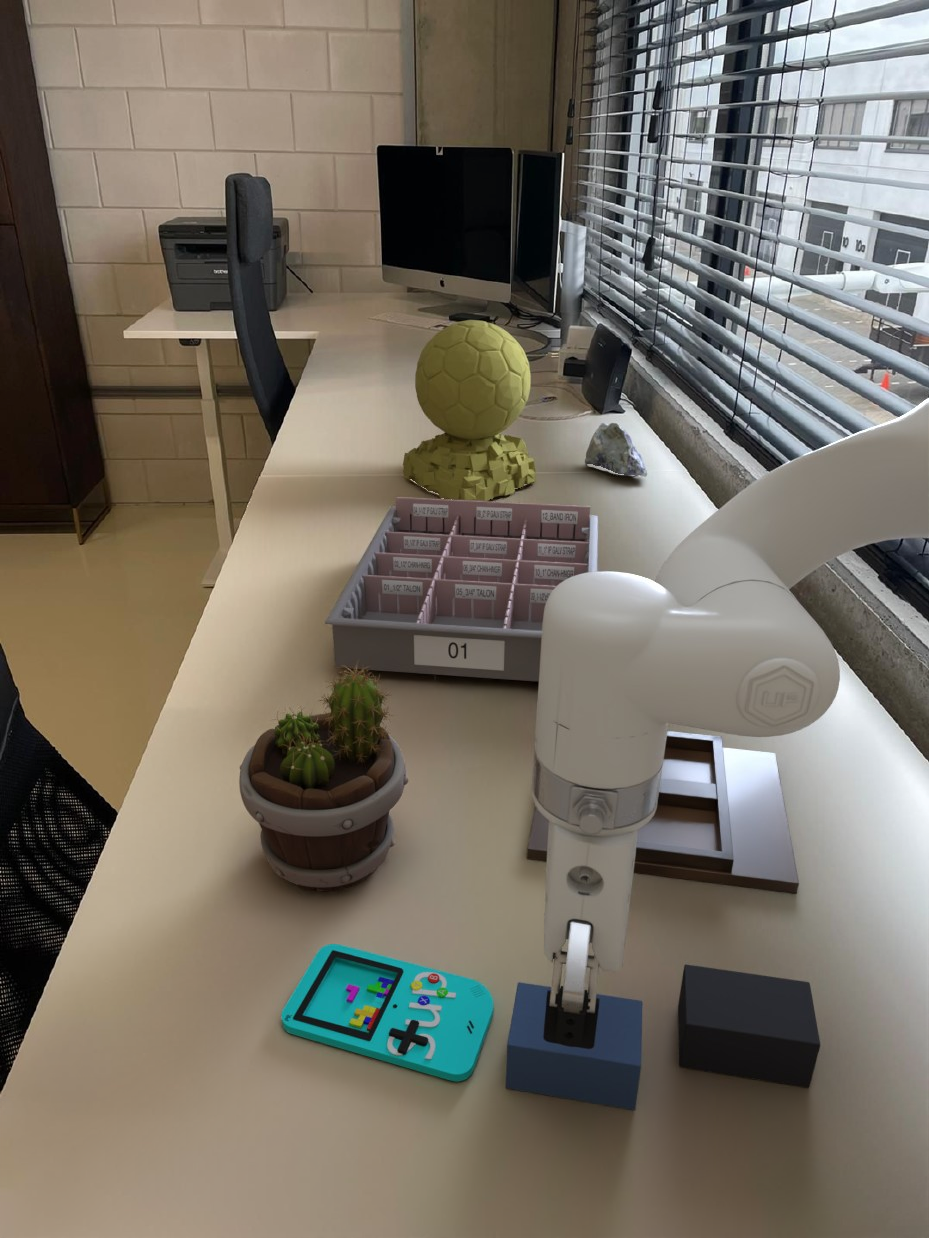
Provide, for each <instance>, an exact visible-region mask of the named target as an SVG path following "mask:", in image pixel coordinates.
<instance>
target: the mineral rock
mask: <svg viewBox="0 0 929 1238" xmlns="http://www.w3.org/2000/svg"><path fill="white" fill-rule="evenodd" d="M585 463H586V464H593V465H595V466H601V467H603V468H606V469H608V470H611V471H613V472H615V473H618V474H624V475H625V476H627V475H640V476H639V477H644V478H645V477H648V470H647V468H646V466H645V463H644V458H643V457H642V455H641V453H639V451H638V450H637V449H636V446H635V445H634V443H633V441H632V438H631V436H630V435H629V434H628V432H627V431H626V430H625V429H624V428H623V427H621V426H620V424H619V423H618V422H610V423H609V424H608V423H605V422H602V423H601V424H599V426H598V428H597V429H596V430H595V431H594V433H593V435H592V437H591V439H590V441H589V444H588V447H587V450H586V452H585V459H584V464H585Z"/></svg>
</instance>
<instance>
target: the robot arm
mask: <svg viewBox="0 0 929 1238" xmlns="http://www.w3.org/2000/svg"><path fill="white" fill-rule="evenodd" d="M901 539H903V540H904V539H929V397H927V398H926V399H925V400H923V401H922V402H921V403H919V404H918V405H917V406H916V407H914V408H912V409H911V410H909V411H908V412H906V413H904V414H903V415H901V416H899V417H897V418H895V419H893V420H889V421H887V422H884V423H881V424H877V425H875V426H872V427H870V428H867V429H864V430H860V431H858V432H856V433H853V434H851V435H849V436H846V437H844V438H841V439H839V440H837V441H834V442H832V443H829V444H828V445H825V446H823V447H820V448H818V449H815V450H812V451H810V452H808V453H805V454H803V455H801V456H799V457H796V458H794V459H792V460H790V461H787V462H785V463H783V464H782V465H780V466H778V467H776V468H774V469H772V470H770V471H769V472H767V473H765V474H763V475H762V476H760V477H759V478H757V479H756V480H754V481H753V482H752V483H750V484H748V486H746V487H745V488H743V489H741V491H739V492H738V493H737V494H736V495H735V496H733V497H731V499H729V500H728V501H727V502H726V503H725V504H723V505H722V506H721V507H720V508H719V509H717V510H716V511H715V512H714V513H713V514H712V515H710V516H709V517H708V518H707V519H705V520H704V521H702V522H701V524H699V525H698V526H697V527H696V528H695V529H694V530H692V531H691V532H690V533H689V534H688V535H687V536H686V537H685V538H684V539H683V540H682V541H681V542H680V543H678V545H677V546H676V547H675V548H674V549H673V550H672V552H671V553H670V554H669V556H668V557H667V558H666V559H665V561H664V562H663V563H662V565H661V567H660V569H659V570H658V573H657V575H656V576H655V580H652V579H650V578H647V577H644V576H641V575H638V574H633V573H628V572H622V571H612V570H611V571H608V570H600V571H599V570H597V572H588V573H583V574H579V575H576V576H572V577H570V578H568V579H566V580H564V581H563V582H561V583H560V584H558V586H557V587H556V588H555V589H554V590H553V591H552V592H551V594H550V596H549V597H548V599H547V601H546V604H545V608H544V616H543V625H542V640H541V656H540V672H539V681H538V690H537V703H536V721H535V735H534V751H533V763H532V764H533V765H532V781H531V798H532V801H533V804H534V807H535V806H536V807H537V809H538V810H539V811H540V812H541V813H542V814H543V815H544V817H546V818H547V819H548V820H549V830H548V846H547V861H546V864H545V883H544V884H545V886H544V887H545V888H544V921H543V922H544V924H543V925H544V928H543V929H544V932H543V933H544V935H543V936H544V937H543V939H544V940H543V942H544V943H543V951H544V953H543V954H544V956H545V957H546V958H547V960H548V961H549V962H551V963H553V969H552V977H551V978H552V980H551V986H550V987H551V991H549V990H548V991H547V999H546V1011H545V1023H544V1035H543V1038H544V1040H545V1041H547V1042H550V1043H556V1044H561V1045H564V1046H569V1047H579V1048H585V1049H592V1048H593V1047H594V1044H595V1035H596V1027H597V1019H598V1010H599V1000H600V999H599V998H596V994H598V984H599V983H598V982H599V973H600V970H601V971H602V972H609V973H617V972H618V971H620V970H621V968H623V966H624V965H623V964H624V958H625V956H624V955H625V948H626V938H627V931H628V930H627V929H628V921H629V920H628V919H629V913H630V904H631V895H632V887H633V880H634V873H635V872H634V864H635V854H636V843H637V830H638V829H640V828H641V827H643V826H644V825H646V824H647V823H648V822H649V821H650V820H651V819H652V817H653V816H654V814H655V812H656V809H657V802H658V796H659V788H660V781H661V774H662V767H663V759H664V752H665V745H666V738H667V731H669V724H671V725H677V726H683V727H689V728H695V729H699V730H705V731H711V732H716V733H722V734H727V735H732V736H733V735H734V736H739V737H751V738H771V737H780V736H785V735H790V734H793V733H796V732H798V731H802V730H803V729H806V728H808V727H810V726H811V725H812V724H814V723H815V722H816V721H818V720H819V719H821V718H822V717H823V716H824V715H825V714H826V713H827V711H828V710H829V709H830V707H832V704H834V701H835V699H836V697H837V694H838V691H839V686H840V681H841V668H840V664H839V663H840V662H839V658H838V655H837V653H836V650H835V648H834V646H833V644H832V642H831V641H830V639H829V637H828V636H827V634H826V632H825V631H824V630H823V629H822V627H821V626H820V625H819V624H818V623H817V622H816V620H815V619H814V617H812V616H811V614H810V613H809V612H808V611H807V610H806V609H805V608H804V607H803V605H802V604H801V603H800V602H799V600H798V599H797V597H796V596H795V595H794V594H793V592H792V591H791V590H790V589H792V588H793V587H794V586H795V585H796V584H798V583H799V582H800V581H802V580H803V579H805V578H806V577H807V576H808V575H809V574H812V573H813V572H814V571H816V570H818V568H820V567H822V566H823V565H825V564H827V563H828V562H830V561H832V560H834V559H836V558H837V557H839V556H842V555H844V554H846V553H848V552H851V551H853V550H856V549H859V548H862V547H865V546H868V545H871V544H876V543H881V542H886V541H893V540H901ZM567 940H568V942H567V951H565V950H563V947H564V946H565V944H566V941H567ZM590 944H591V949H592V952H593V955H591V954H589V948H590ZM563 965H565V970H564V980H563V985H561V984H562V973H563ZM587 969H589V976H588V977H589V979H588V987H587V989H586V979H587ZM587 994H588V995H587Z"/></svg>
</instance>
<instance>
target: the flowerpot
mask: <svg viewBox="0 0 929 1238" xmlns="http://www.w3.org/2000/svg"><path fill="white" fill-rule="evenodd" d="M359 660H360V659H359ZM359 660H358V662H359ZM358 662H357V663H356V666H355V668H354V669H353V670H351V668H348V666H347V667H346V666H344V667H346V668H345V669H346V670H345V669H344V671H339V672H338V671H337V676H338V679H337V678H336V675H335V676H334V677H333V679H330V680H325V682H326V683H330V684H332V685H327V686H326V687H325V689H327V688H329V687H330V688H331V687H333V688H331V691H332V692H331V694H330V695H329V693H326V694H327V696H326V695H325V694H323V696H321V698H322V699H320V700H318V702H322V701H323V703H322V705H323V707H322V709H324V710H323V713H319V714H313V712H311V713H310V714H309V715H304V713H303V710H304V709H305V707H304V708H302V706H299V704H297V712H296V713H294V711H293V709H292V708H291V707H290V706H289V705H288V706H287V707H288V708H289V710H290V711H291V713H290V712H289V711H286V707H284V713H285V717H284V719H283V718H282V719H281V718H280V719H279V718H278V716H276V718H271V719H270V721H272V720H273V721H274V720H276V721H278V723H277V724H275V727H274V728H269V729H267V730H266V731H264V732H263V733H262V734H260V736H259V737H258V739H257V740H256V742H255V744H254V745H253V746H251V747H250V748H249V749H248V751H247V752H246V754H245V756H244V758H243V760H242V762H241V764H240V765H239V777H238V778H239V779H238V781H239V782H238V784H239V792H240V797H241V798H240V799H241V800H242V804H243V806H244V808H245V810H246V811H247V813H248V814H249V815H250V816H251V818H252V819H253V820H254V821H256V822H257V823H258V824H259V827H260V829H261V830H260V845H261V848H262V852H263V854H264V856H265V858H266V860H267V862H268V864H269V866H270V867H271V869H272V870H273V871H274V873H275V874H276V875H277V876H278V877H280V878H282V879H284V880H286V881H287V882H289V883H293V884H295V885H297V887H299V888H300V889H303V890H306V891H307V890H308V891H312V890H314V889H316V890H317V891H320V892H333V891H338V890H340V889H349V888H352V887H353V886H356V885H359V884H360V883H361V882H363V881H364V880H365V879H366V878H367V876H371V875H372V874H373V872H374V871H375V870H376V869H377V868H378V867H379V866H380V865H381V864H382V863H383V862H384V860H385V859H386V858H387V856H388V854H389V851H390V849H391V848H392V847H393V846H395V840H394V839H393V838H394V833H395V827H394V826H395V824H394V821H393V818H392V815H391V814H390V811H391V810H392V809H393V808H394V807H395V806H396V805H397V803H398V802H399V801H400V799H401V797H402V796H403V793H404V789H405V785H407V784H408V783H409V778H408V777H407V767H406V761H405V757H404V754H403V751H402V749H401V747H400V745H399V744H398V742H397V740H395V739H394V738H393V737H392V736H391V735H390V734H391V733H390V732H388V731H387V729H386V728H387V726H385V727H384V726H381V724H383V725H385V721H387V719H388V720H389V722H390V723H392V721H391V720H390V719H389V717H388V716H390V717H391V716H392V717H394V715H393V714H390V711H389V705H388V706H386V704H385V702H386V701H388V702H390V699H389V698H387V696H388V697H393V695H392V694H390V693H387V692H388V691H387V689H388V688H385V691H384V690H383V688H381V689H380V685H381V686H383V682H382V681H378V680H379V679H380V676H381V674H379V675H378V676H376V675H374V674H372V675H371V672H369V671H371V670H370V669H368V670H366V668H368V667H366V668H364V669H363V668H362V669H360V670H359V669H357V665H358ZM363 665H364V664H363ZM342 666H343V665H342ZM369 667H370V666H369ZM349 671H350V672H349ZM339 674H342V676H340V675H339ZM370 675H371V676H370ZM376 685H377V686H376ZM326 704H327V705H326ZM382 705H383V706H386V708H382V707H383V706H382ZM325 706H326V707H325ZM327 708H329V709H330V712H326V711H325V710H326V709H327ZM278 713H279V712H276V715H278ZM281 713H283V711H281V712H280V714H281ZM312 714H313V715H312Z"/></svg>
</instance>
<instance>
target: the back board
mask: <svg viewBox="0 0 929 1238" xmlns="http://www.w3.org/2000/svg"><path fill="white" fill-rule="evenodd" d="M723 745H724V744H723V737H722V736H719V735H709V734H700V733H699V734H698V733H691V732H681V731H671V730H670V731H669V730H668V731H667V738H666V745H665V752H664V759H663V767H662V774H661V781H660V788H659V796H658V802H657V809H656V812H655V814H654V816H653V817H652V819H651V820H650V821H649V822H648V823H647V824H646V825H644V826H643V827H641V828H640V829H638V830H637V843H636V854H635V864H634V872H633V873H636V874H642V875H643V874H644V875H649V876H650V875H651V876H658V877H666V878H674V879H683V880H689V881H697V882H706V883H713V884H721V885H728V886H736V887H744V888H750V889H751V888H752V889H759V890H766V891H774V892H782V893H790V894H797V893H798V890H799V885H800V881H799V876H798V871H797V865H796V859H795V854H794V849H793V843H792V838H791V832H790V826H789V821H788V814H787V810H786V805H785V800H784V793H783V788H782V783H781V782H782V781H781V777H780V771H779V766H778V761H777V754H776V752H769V751H760V750H750V749H740V748H731V747H724V746H723ZM548 830H549V820H548V819H547V818H546V817H544V815H543V814H542V813H541V812H540V811H539V810H538V809H537V807H536V806H535V805H534V813H533V818H532V823H531V827H530V832H529V838H528V843H527V849H526V859H528V860H536V861H542V862H544V861H545V862H547V846H548Z"/></svg>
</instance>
